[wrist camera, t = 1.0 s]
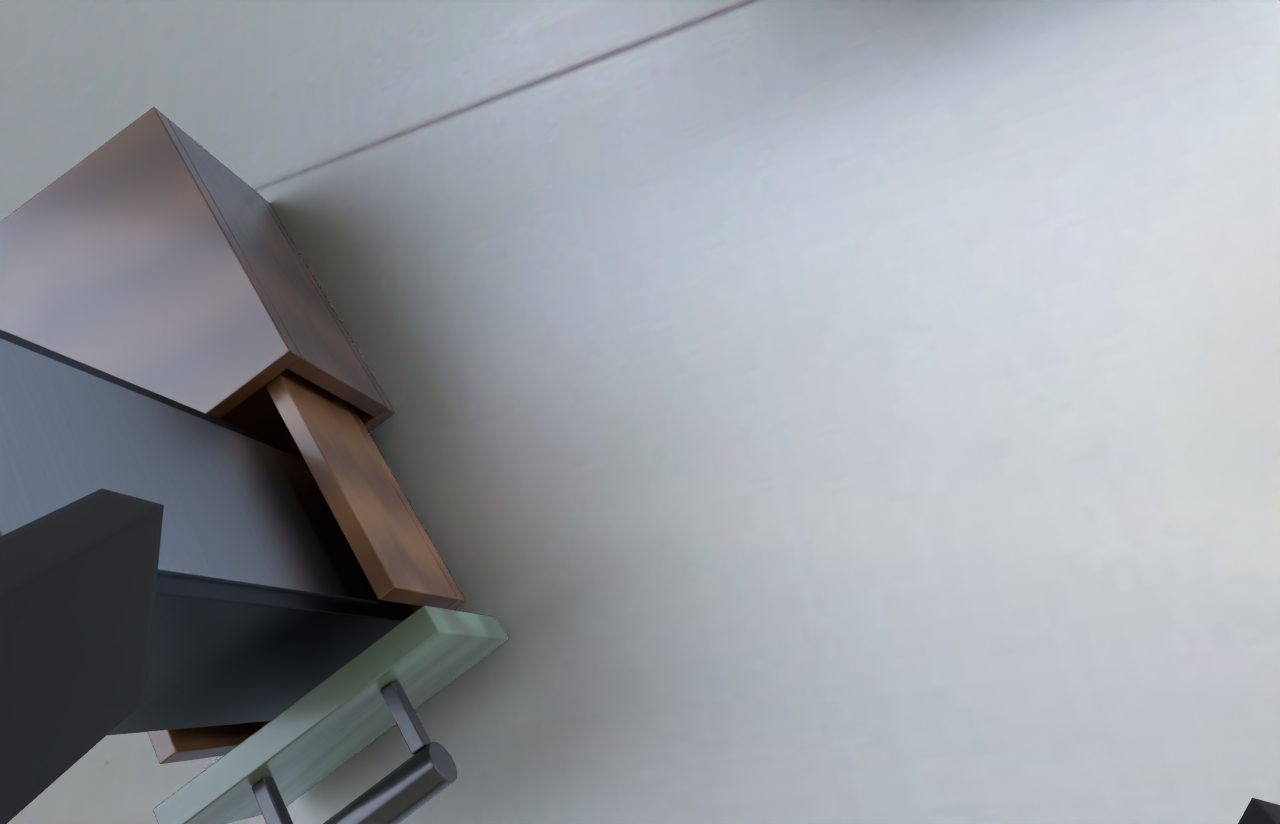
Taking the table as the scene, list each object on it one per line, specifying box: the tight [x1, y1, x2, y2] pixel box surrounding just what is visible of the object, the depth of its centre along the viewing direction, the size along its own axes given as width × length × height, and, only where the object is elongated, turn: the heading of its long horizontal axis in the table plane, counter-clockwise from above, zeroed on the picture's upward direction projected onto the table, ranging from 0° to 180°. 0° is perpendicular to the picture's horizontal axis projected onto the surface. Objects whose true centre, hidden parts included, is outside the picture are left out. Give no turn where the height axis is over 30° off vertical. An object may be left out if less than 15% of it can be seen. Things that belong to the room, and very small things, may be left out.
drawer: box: [148, 369, 508, 824], centre depth 34 cm, size 20×12×7 cm, turn 35°
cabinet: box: [0, 107, 394, 432], centre depth 40 cm, size 17×14×9 cm
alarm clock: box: [0, 329, 413, 735], centre depth 26 cm, size 9×7×23 cm
